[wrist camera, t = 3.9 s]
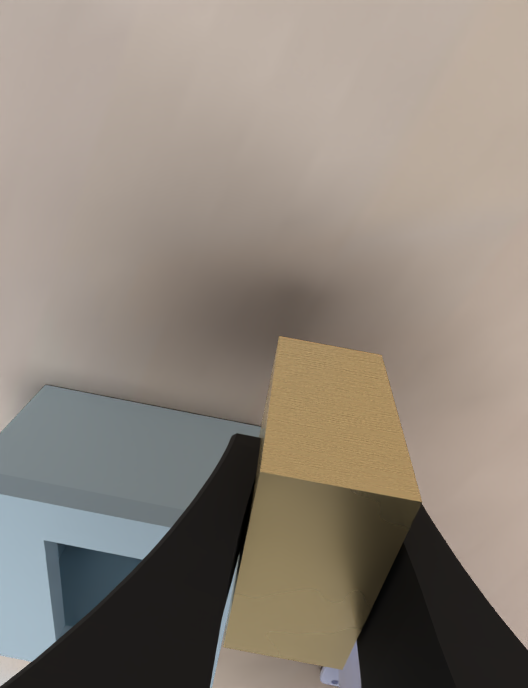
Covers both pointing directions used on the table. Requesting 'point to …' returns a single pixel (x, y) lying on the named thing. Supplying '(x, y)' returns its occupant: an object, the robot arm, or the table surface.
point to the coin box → (91, 503)
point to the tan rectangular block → (321, 506)
